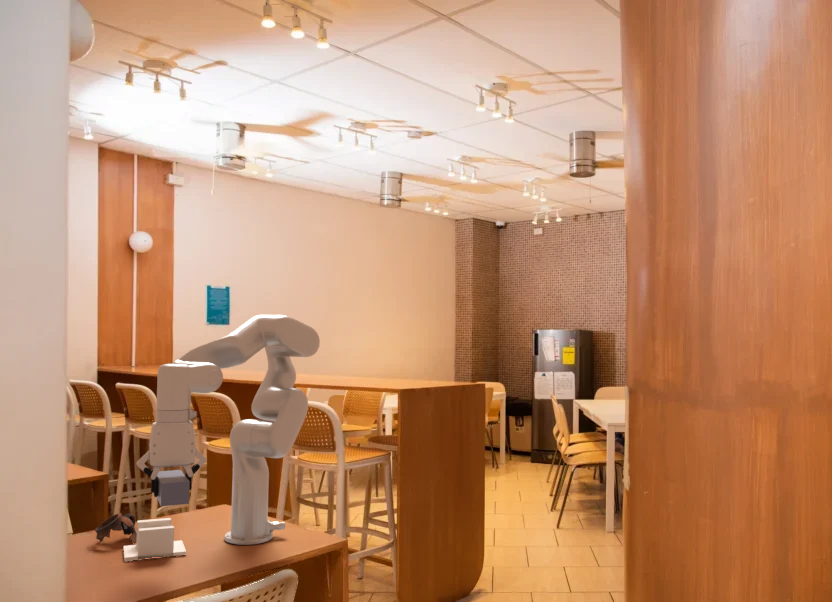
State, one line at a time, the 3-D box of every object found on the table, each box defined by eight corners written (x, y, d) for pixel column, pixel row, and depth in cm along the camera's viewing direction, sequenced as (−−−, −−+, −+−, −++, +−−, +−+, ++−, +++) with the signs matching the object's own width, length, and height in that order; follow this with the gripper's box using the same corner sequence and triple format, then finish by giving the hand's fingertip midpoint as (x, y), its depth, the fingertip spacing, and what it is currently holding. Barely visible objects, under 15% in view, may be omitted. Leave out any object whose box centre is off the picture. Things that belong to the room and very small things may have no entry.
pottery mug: (131, 549, 177) (114, 523, 176) (100, 564, 178) (83, 537, 177) (151, 525, 189) (135, 499, 187) (122, 538, 190) (106, 513, 189)
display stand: (181, 544, 181) (182, 516, 181) (186, 555, 171) (187, 526, 172) (123, 549, 175) (124, 521, 175) (124, 561, 166) (125, 532, 166)
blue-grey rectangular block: (180, 490, 170) (180, 469, 170) (189, 503, 157) (189, 481, 158) (153, 492, 167) (154, 471, 167) (160, 506, 155) (161, 483, 155)
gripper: (209, 413, 170) (207, 488, 169) (132, 416, 163) (130, 494, 162) (213, 417, 163) (211, 495, 162) (134, 420, 156) (131, 501, 155)
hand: (171, 493), depth 162 cm, fingers closed on blue-grey rectangular block, 6 cm apart
